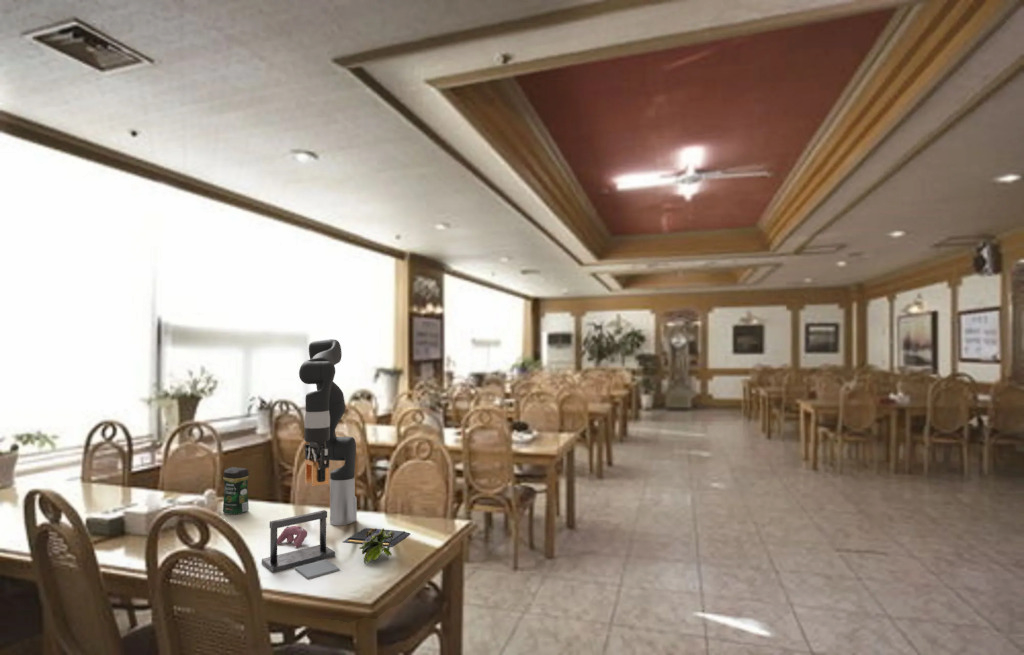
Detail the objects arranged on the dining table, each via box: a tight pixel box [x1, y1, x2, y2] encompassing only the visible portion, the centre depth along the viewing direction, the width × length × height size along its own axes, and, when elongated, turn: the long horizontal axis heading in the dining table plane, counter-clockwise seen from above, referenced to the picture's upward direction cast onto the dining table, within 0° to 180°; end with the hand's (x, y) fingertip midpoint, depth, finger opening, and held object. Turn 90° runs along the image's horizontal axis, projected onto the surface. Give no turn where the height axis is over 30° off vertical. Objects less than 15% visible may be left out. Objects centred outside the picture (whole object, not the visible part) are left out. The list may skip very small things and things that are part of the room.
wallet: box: [342, 527, 411, 548], centre depth 205 cm, size 20×2×15 cm
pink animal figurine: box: [277, 525, 308, 548], centre depth 200 cm, size 10×5×7 cm, turn 67°
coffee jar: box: [222, 466, 250, 515], centre depth 238 cm, size 10×8×19 cm
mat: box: [294, 559, 340, 580], centre depth 176 cm, size 10×10×1 cm
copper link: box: [304, 459, 330, 487], centre depth 177 cm, size 6×5×7 cm
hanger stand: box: [261, 509, 336, 574], centre depth 184 cm, size 10×20×14 cm, turn 132°
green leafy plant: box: [359, 527, 394, 565], centre depth 185 cm, size 11×11×12 cm
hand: (317, 479), depth 177 cm, fingers closed on copper link, 6 cm apart
